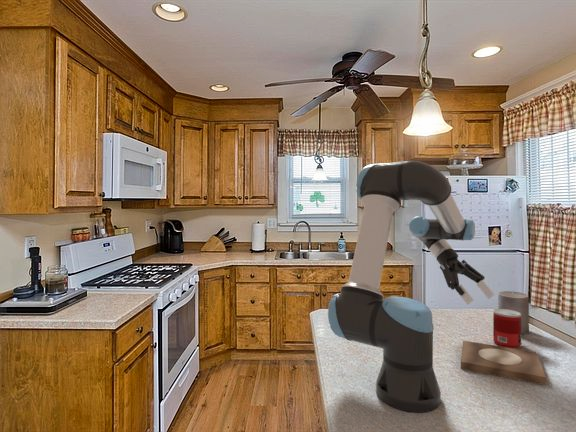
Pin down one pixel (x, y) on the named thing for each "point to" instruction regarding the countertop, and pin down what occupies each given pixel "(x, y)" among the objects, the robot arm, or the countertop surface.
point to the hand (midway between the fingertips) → (481, 299)
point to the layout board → (502, 362)
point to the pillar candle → (516, 306)
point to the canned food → (507, 328)
